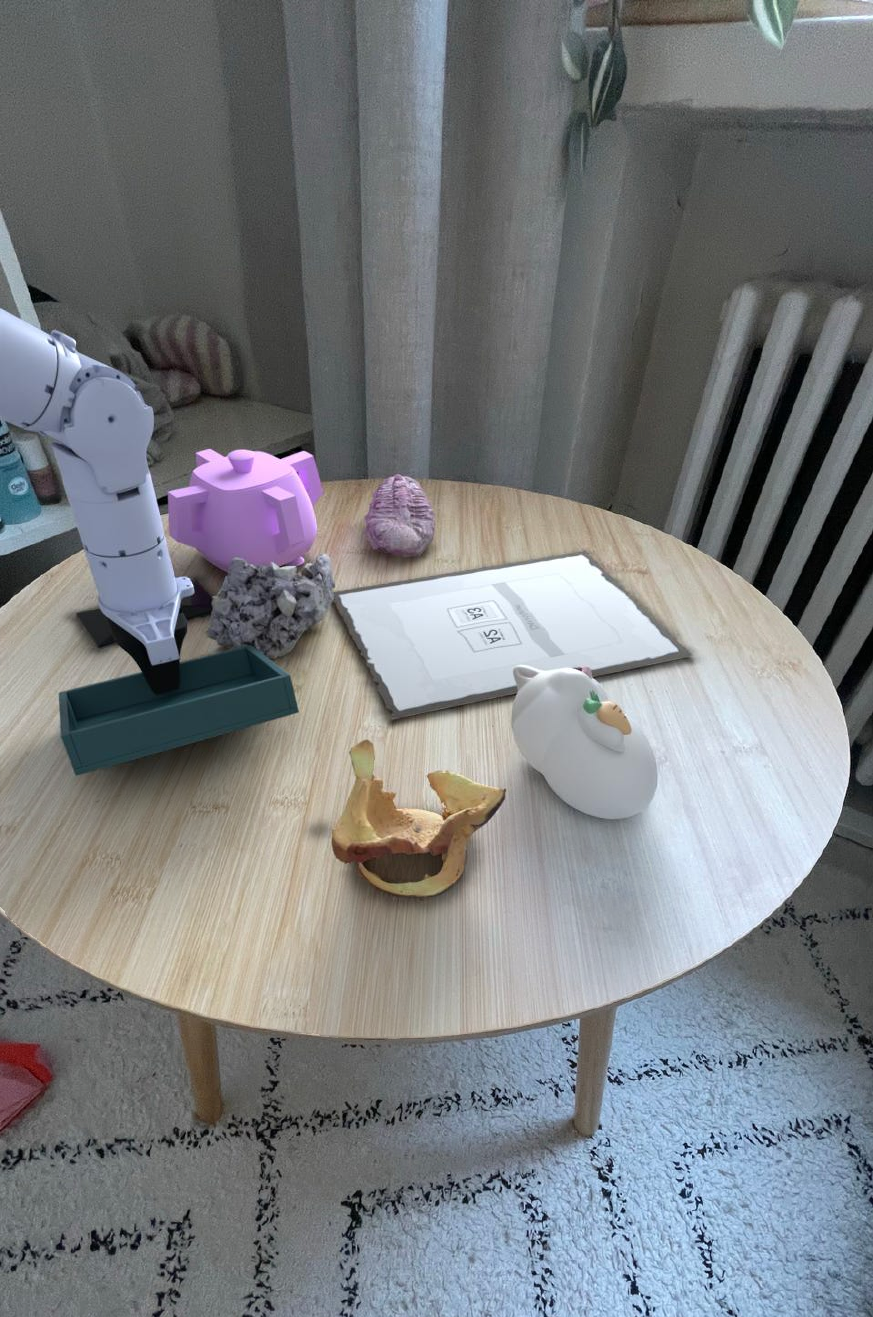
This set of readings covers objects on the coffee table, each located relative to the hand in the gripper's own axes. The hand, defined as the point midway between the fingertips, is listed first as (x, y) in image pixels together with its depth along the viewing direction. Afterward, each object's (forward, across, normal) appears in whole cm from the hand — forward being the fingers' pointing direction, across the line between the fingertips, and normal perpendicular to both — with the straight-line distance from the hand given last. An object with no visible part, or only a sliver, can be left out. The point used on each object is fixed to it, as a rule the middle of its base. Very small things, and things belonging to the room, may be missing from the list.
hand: (165, 688), depth 65 cm
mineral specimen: (+2, +5, -12) cm, 13 cm away
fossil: (+2, +20, -32) cm, 38 cm away
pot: (+2, +21, -14) cm, 26 cm away
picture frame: (+2, -2, -32) cm, 33 cm away
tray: (-1, -6, 0) cm, 6 cm away
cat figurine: (+2, -23, -26) cm, 35 cm away
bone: (+2, -25, -11) cm, 27 cm away
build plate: (+2, +15, -2) cm, 16 cm away
